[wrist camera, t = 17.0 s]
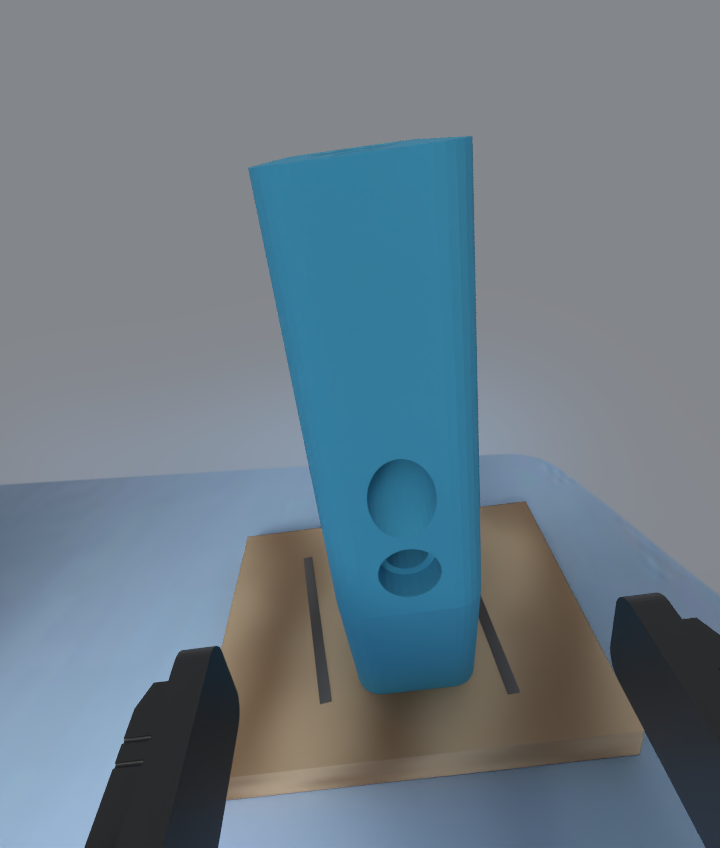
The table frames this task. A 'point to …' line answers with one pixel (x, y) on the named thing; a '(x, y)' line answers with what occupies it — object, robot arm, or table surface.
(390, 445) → the block
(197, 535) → the table surface
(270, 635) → the oak board
